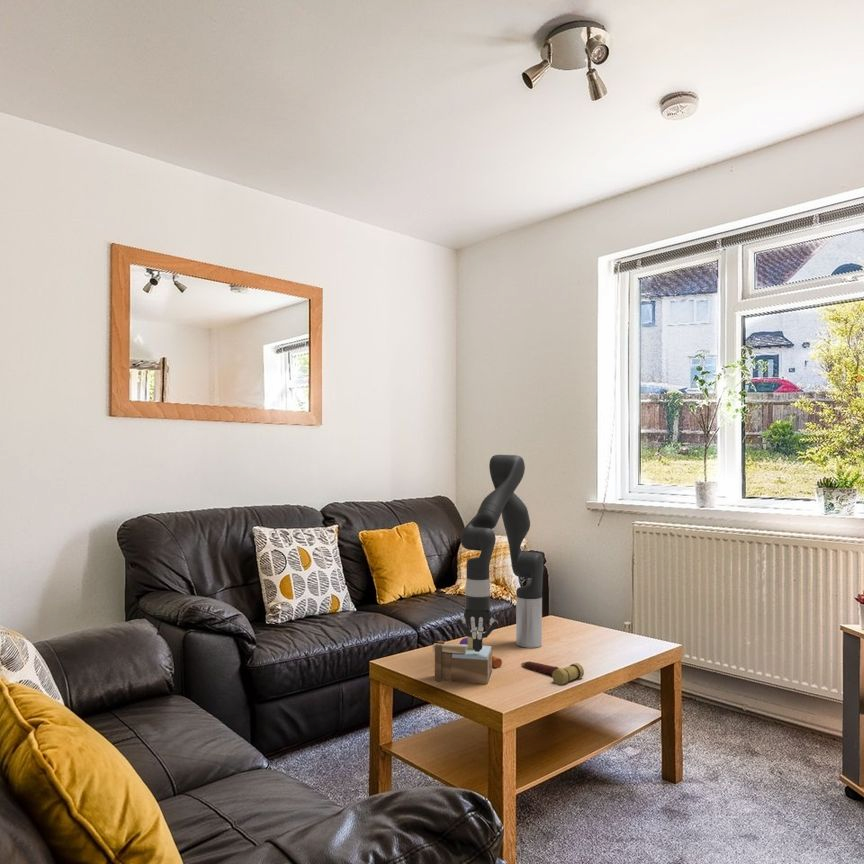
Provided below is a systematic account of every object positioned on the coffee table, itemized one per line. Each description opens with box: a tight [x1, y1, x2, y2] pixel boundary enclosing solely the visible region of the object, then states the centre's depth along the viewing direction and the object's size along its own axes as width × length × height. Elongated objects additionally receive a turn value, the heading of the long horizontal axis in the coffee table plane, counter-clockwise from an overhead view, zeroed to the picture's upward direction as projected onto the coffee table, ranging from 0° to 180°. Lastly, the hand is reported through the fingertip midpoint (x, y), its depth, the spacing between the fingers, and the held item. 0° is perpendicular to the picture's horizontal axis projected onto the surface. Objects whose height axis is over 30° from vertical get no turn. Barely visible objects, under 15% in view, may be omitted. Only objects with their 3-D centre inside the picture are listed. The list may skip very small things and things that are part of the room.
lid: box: [452, 629, 492, 660], centre depth 208 cm, size 12×11×7 cm
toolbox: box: [434, 640, 493, 685], centre depth 208 cm, size 12×16×11 cm
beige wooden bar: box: [432, 642, 466, 654], centre depth 205 cm, size 2×10×2 cm, turn 78°
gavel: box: [520, 661, 585, 686], centre depth 211 cm, size 21×5×10 cm
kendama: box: [458, 637, 503, 669], centre depth 225 cm, size 6×6×20 cm
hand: (477, 650), depth 203 cm, fingers closed
